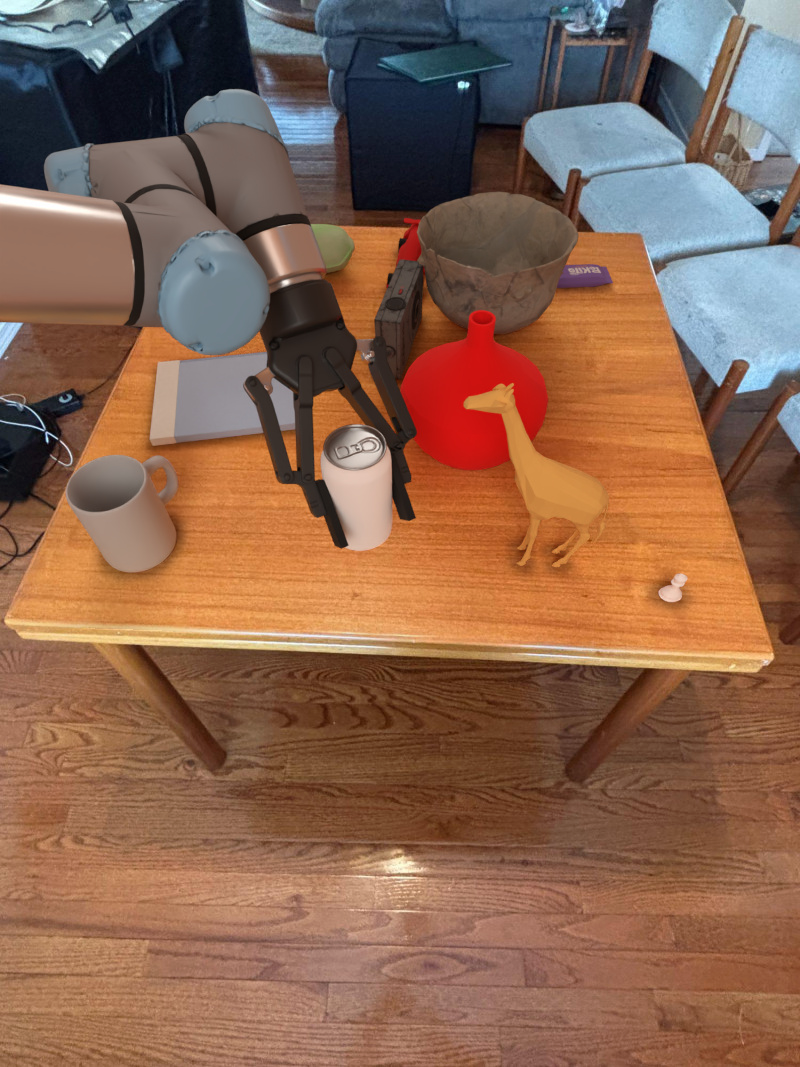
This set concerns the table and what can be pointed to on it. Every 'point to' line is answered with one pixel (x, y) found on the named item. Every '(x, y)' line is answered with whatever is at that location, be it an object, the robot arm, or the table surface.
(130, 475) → the mug
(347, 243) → the corn
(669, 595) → the chess pawn
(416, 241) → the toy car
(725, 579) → the table surface
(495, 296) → the bowl
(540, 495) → the giraffe
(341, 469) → the can
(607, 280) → the snack package
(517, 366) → the vase
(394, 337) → the camera
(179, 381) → the blue flat rectangular slab
